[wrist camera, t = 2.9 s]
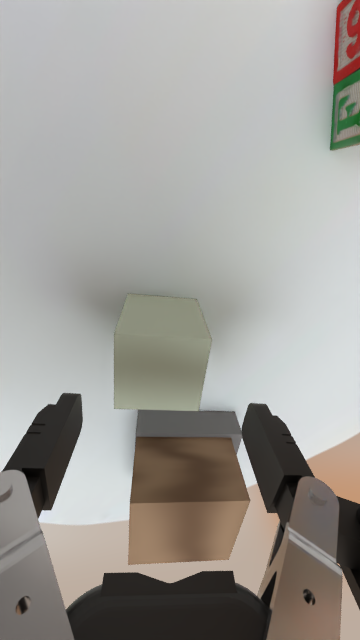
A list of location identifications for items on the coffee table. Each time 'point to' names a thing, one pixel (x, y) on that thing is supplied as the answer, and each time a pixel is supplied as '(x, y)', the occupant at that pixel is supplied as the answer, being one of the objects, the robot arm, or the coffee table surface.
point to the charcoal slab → (189, 424)
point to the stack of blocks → (346, 77)
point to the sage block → (160, 354)
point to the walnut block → (185, 500)
